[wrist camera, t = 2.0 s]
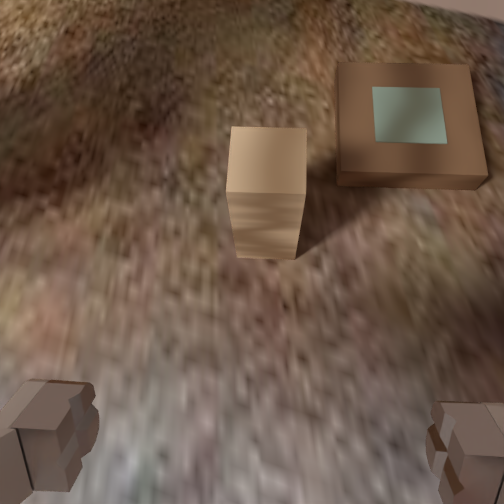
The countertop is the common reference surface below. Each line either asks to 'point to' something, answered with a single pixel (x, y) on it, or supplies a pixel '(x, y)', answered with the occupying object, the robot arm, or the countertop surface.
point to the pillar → (266, 190)
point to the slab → (407, 126)
